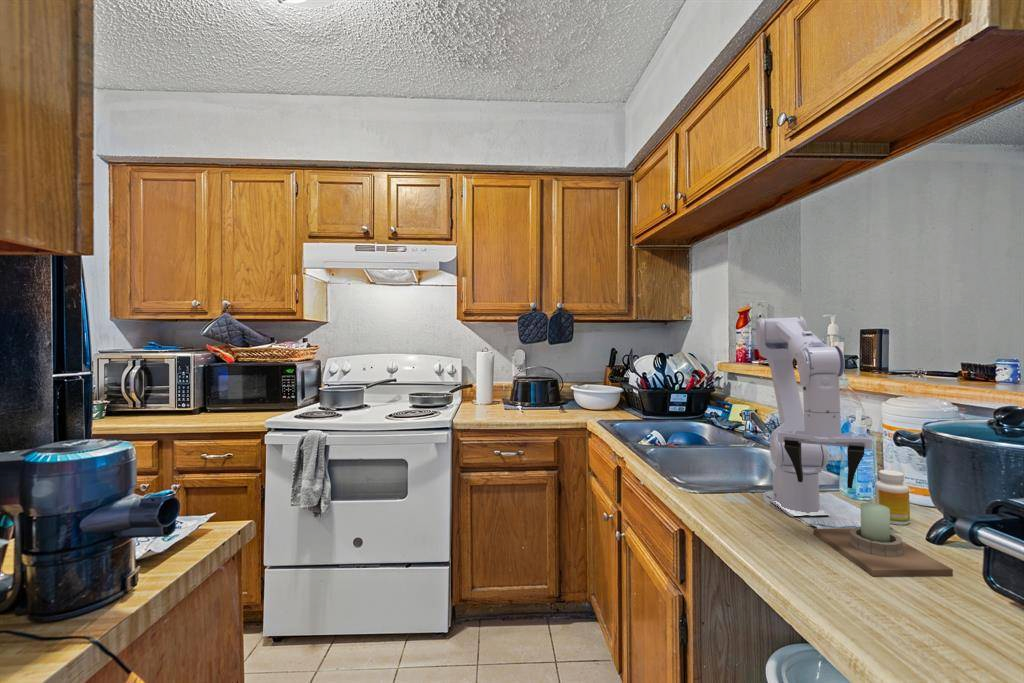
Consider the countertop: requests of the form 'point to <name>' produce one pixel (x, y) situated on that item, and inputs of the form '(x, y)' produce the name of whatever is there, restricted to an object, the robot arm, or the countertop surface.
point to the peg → (875, 522)
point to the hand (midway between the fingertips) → (824, 483)
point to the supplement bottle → (893, 496)
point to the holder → (882, 554)
